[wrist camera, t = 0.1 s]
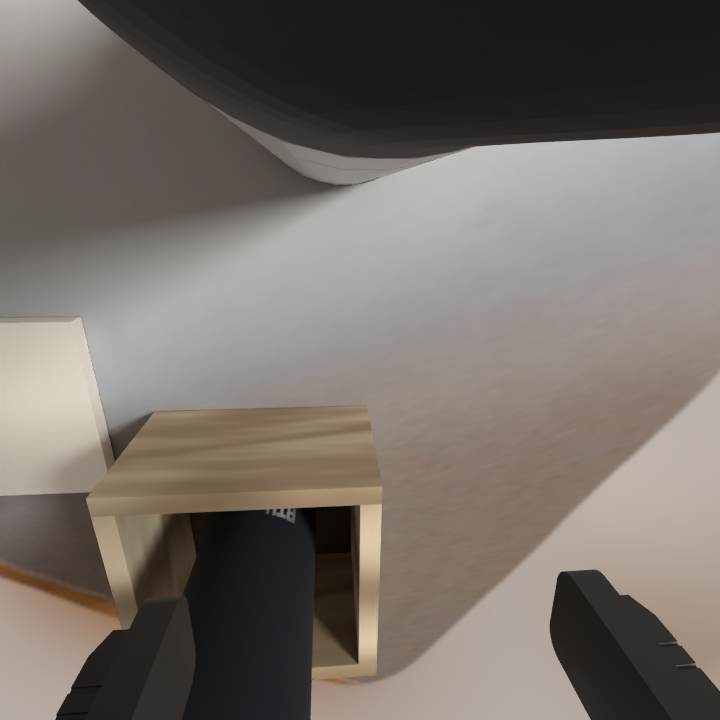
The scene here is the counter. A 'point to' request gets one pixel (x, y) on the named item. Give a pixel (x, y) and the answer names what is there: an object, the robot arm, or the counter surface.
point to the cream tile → (49, 409)
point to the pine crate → (248, 492)
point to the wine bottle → (253, 616)
